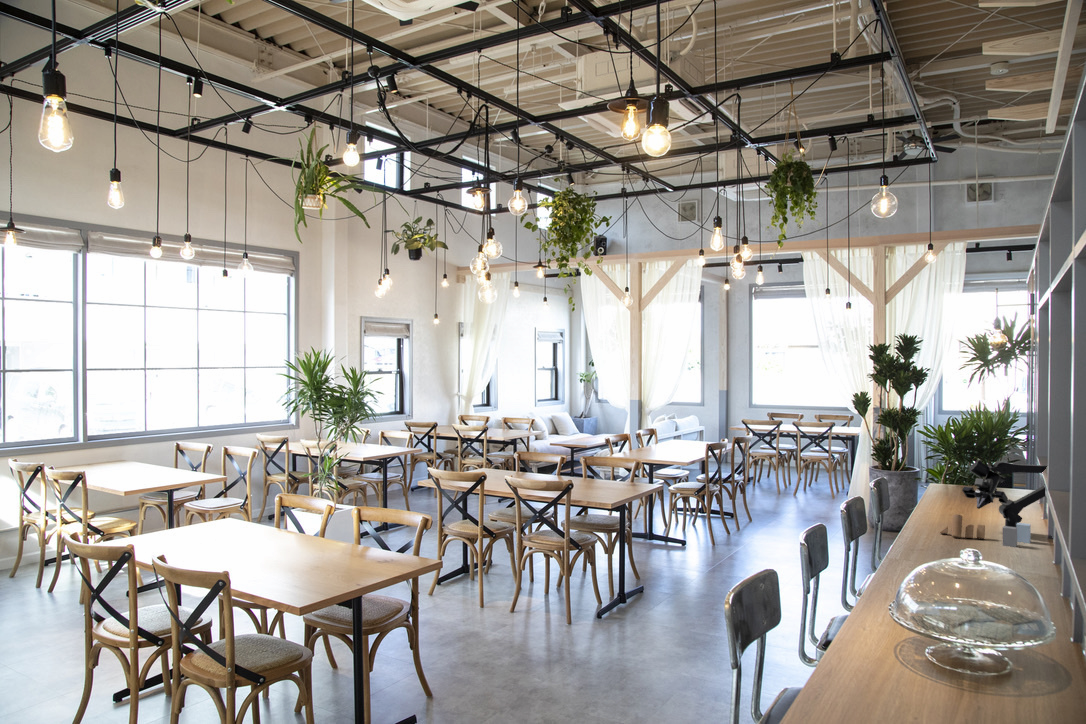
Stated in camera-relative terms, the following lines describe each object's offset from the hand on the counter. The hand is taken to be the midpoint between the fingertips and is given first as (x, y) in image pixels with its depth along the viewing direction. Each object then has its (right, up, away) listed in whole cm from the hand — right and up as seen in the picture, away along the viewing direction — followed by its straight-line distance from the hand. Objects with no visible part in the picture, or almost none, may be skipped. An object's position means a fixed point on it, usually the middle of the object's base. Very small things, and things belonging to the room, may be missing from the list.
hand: (978, 508), depth 342 cm
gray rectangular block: (+1, -12, -21) cm, 25 cm away
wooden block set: (-11, -13, -6) cm, 18 cm away
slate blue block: (+13, -13, -14) cm, 22 cm away
